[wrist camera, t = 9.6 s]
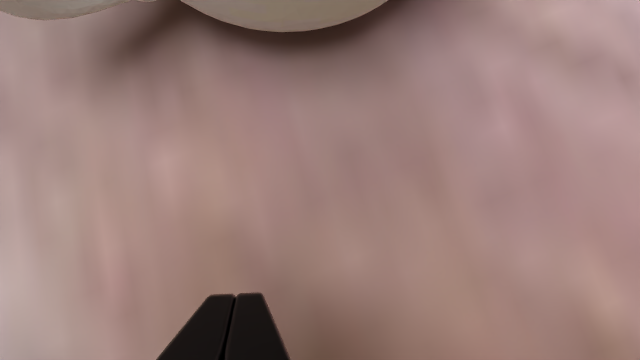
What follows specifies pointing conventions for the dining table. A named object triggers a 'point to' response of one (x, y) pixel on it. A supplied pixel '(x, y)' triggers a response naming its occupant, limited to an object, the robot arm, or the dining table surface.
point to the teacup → (217, 11)
